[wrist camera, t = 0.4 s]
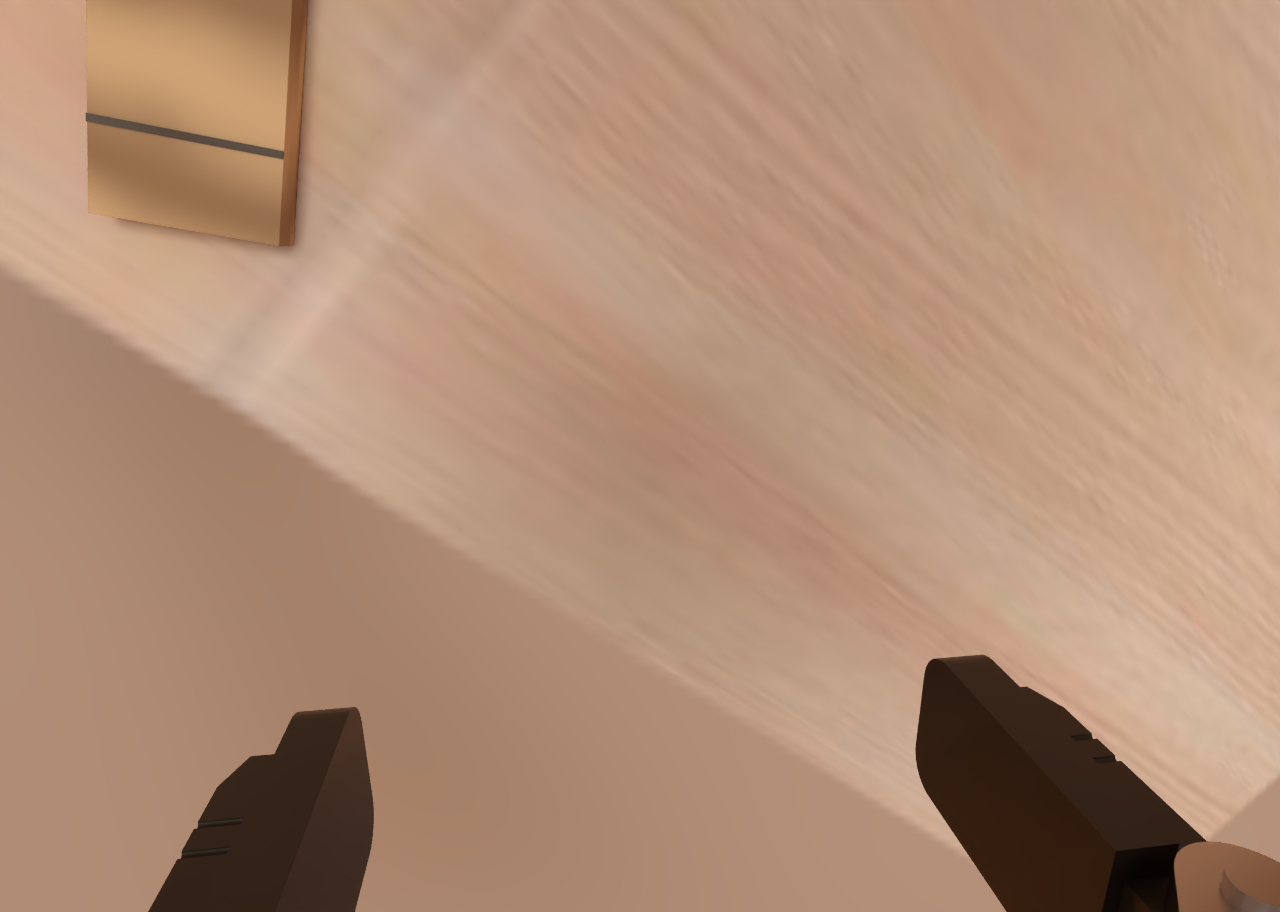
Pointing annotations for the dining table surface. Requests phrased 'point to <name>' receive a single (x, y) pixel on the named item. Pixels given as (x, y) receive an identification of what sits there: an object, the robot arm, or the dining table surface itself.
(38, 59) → the dining table surface
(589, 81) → the dining table surface
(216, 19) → the board
